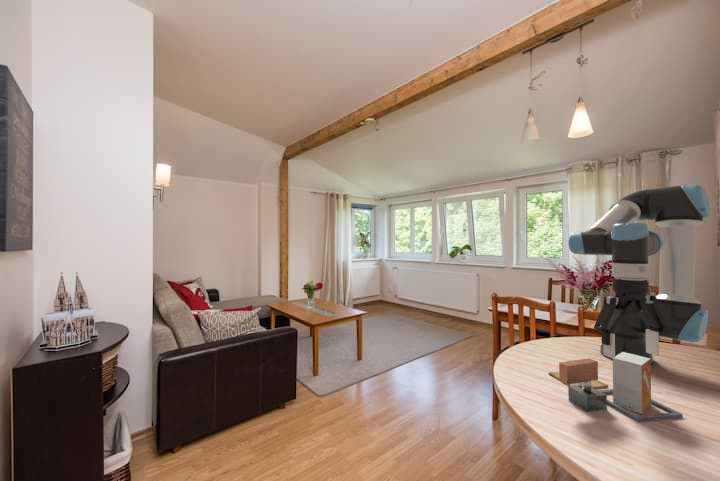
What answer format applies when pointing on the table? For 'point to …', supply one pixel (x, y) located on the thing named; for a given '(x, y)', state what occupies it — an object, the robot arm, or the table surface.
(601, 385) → the cork pad
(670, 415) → the seat rim
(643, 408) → the small box
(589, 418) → the table surface
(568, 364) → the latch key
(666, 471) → the table surface
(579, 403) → the key housing
